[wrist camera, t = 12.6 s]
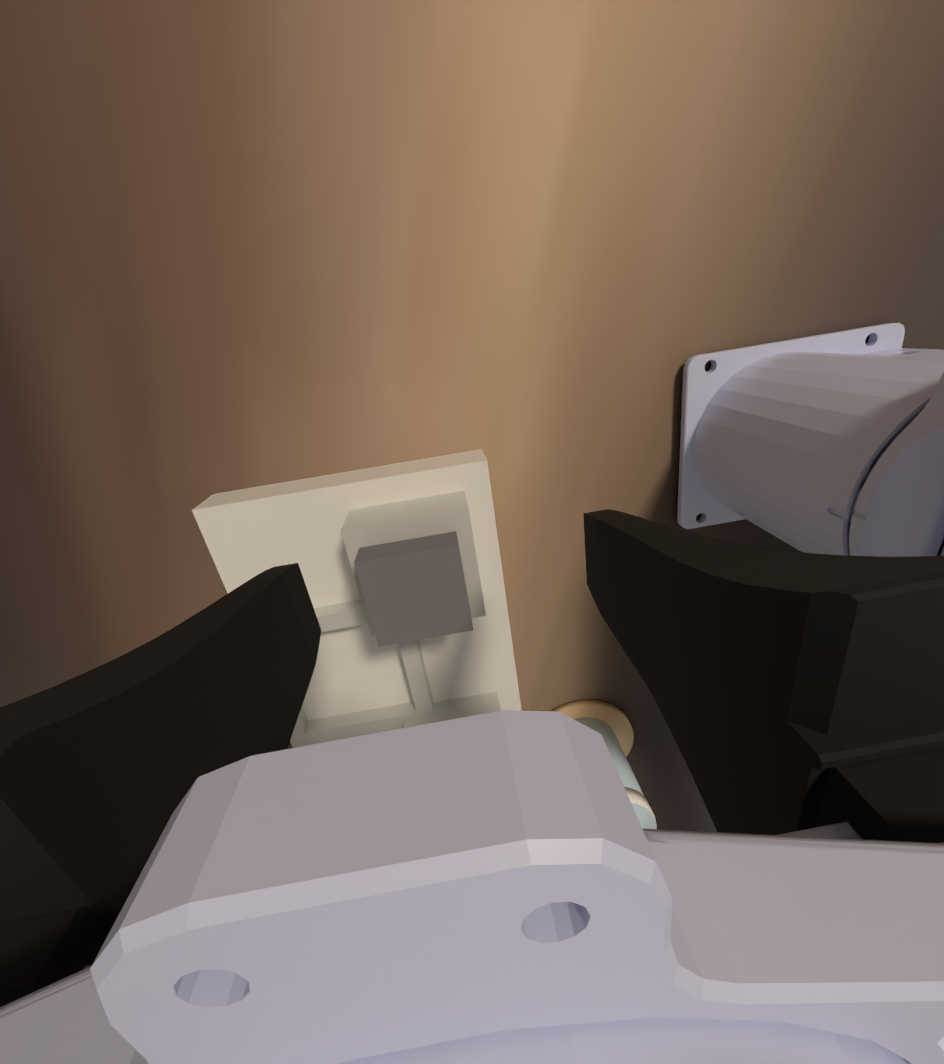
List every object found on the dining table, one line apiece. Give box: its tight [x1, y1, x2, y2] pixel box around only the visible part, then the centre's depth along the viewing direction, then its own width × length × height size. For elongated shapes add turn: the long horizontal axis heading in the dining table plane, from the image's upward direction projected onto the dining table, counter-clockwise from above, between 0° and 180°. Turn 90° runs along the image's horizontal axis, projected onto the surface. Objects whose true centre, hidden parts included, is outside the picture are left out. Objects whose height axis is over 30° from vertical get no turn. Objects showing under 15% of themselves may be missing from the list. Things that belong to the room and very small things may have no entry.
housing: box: [192, 449, 521, 748], centre depth 22 cm, size 12×19×4 cm, turn 8°
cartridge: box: [574, 717, 657, 829], centre depth 25 cm, size 4×4×6 cm
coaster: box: [552, 700, 634, 757], centre depth 28 cm, size 6×6×1 cm
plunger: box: [354, 531, 473, 647], centre depth 18 cm, size 4×4×3 cm
